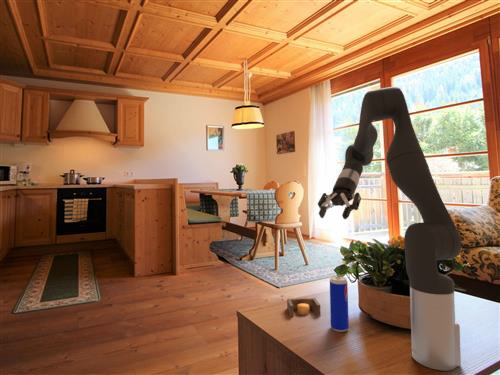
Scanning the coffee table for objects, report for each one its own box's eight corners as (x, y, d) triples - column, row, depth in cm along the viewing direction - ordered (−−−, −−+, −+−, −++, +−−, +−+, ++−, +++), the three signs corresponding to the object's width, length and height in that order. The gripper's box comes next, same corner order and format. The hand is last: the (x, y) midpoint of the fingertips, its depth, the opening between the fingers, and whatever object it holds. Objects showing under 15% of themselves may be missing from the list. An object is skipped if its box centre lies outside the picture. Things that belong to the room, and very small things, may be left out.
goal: (315, 307, 107) (315, 297, 107) (320, 315, 100) (320, 305, 100) (287, 308, 106) (287, 298, 106) (290, 316, 99) (290, 305, 99)
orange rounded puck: (307, 310, 105) (307, 303, 105) (310, 314, 101) (310, 307, 101) (296, 310, 104) (296, 303, 104) (299, 315, 100) (299, 307, 100)
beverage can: (349, 333, 87) (348, 281, 87) (331, 331, 88) (330, 280, 88) (347, 325, 92) (346, 276, 92) (330, 324, 93) (329, 275, 93)
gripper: (325, 177, 113) (309, 209, 105) (362, 175, 103) (348, 210, 95) (332, 191, 117) (317, 223, 108) (368, 190, 107) (356, 225, 99)
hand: (332, 217), depth 102 cm, fingers open, 8 cm apart
